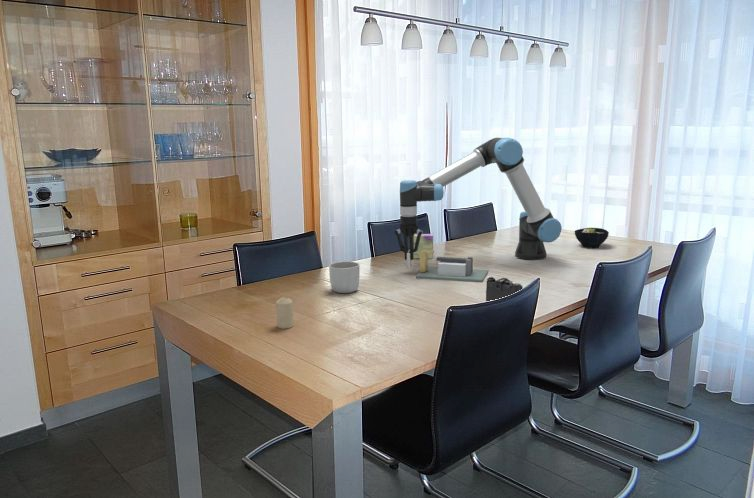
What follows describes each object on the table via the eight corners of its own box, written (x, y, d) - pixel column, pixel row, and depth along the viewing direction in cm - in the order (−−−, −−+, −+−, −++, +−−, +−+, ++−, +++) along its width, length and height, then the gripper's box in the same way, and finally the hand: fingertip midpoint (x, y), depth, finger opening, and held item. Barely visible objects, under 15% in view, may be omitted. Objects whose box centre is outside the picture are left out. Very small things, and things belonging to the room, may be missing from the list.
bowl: (610, 245, 316) (612, 226, 314) (604, 251, 301) (605, 232, 299) (578, 242, 325) (579, 224, 323) (570, 248, 310) (571, 229, 308)
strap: (471, 261, 258) (471, 258, 258) (470, 263, 255) (470, 259, 255) (437, 259, 263) (437, 256, 262) (436, 260, 260) (436, 257, 259)
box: (433, 256, 299) (433, 233, 297) (433, 258, 294) (433, 235, 291) (412, 256, 300) (412, 233, 298) (412, 258, 295) (412, 235, 292)
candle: (277, 323, 201) (276, 295, 199) (294, 323, 201) (292, 295, 199) (276, 329, 196) (274, 300, 194) (293, 328, 196) (291, 299, 194)
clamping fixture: (488, 272, 264) (488, 254, 263) (482, 282, 247) (482, 263, 246) (425, 268, 273) (425, 251, 272) (415, 278, 257) (415, 260, 255)
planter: (337, 296, 232) (336, 269, 229) (325, 289, 242) (324, 263, 240) (365, 292, 237) (364, 265, 235) (352, 285, 248) (351, 260, 246)
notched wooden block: (434, 270, 265) (434, 250, 263) (431, 272, 261) (431, 252, 259) (422, 269, 267) (422, 249, 265) (420, 272, 262) (419, 252, 260)
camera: (532, 303, 217) (533, 277, 215) (517, 310, 209) (517, 283, 207) (498, 296, 226) (499, 271, 224) (483, 303, 219) (483, 277, 217)
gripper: (424, 214, 263) (425, 265, 268) (397, 213, 267) (397, 264, 272) (420, 216, 256) (421, 269, 261) (392, 216, 260) (393, 267, 265)
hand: (409, 266), depth 266 cm, fingers closed
